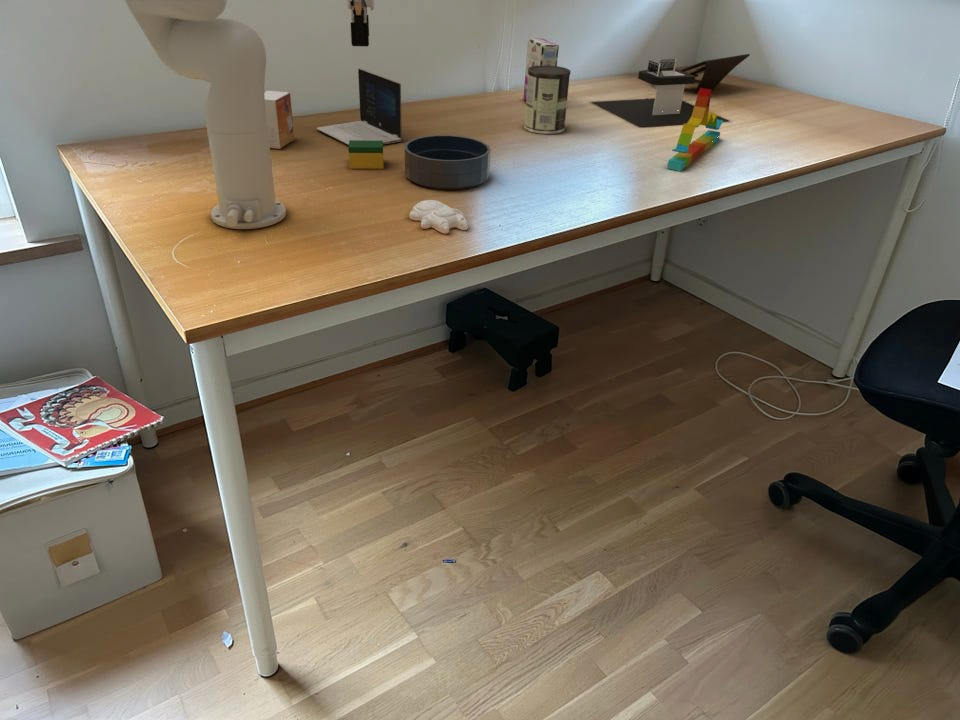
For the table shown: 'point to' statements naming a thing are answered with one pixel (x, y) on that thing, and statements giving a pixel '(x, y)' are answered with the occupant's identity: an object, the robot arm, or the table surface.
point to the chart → (703, 142)
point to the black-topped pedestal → (657, 98)
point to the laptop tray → (714, 70)
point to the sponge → (365, 154)
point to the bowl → (447, 161)
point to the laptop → (373, 112)
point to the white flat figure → (438, 216)
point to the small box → (279, 118)
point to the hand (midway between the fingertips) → (360, 41)
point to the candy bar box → (540, 56)
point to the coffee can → (546, 99)
